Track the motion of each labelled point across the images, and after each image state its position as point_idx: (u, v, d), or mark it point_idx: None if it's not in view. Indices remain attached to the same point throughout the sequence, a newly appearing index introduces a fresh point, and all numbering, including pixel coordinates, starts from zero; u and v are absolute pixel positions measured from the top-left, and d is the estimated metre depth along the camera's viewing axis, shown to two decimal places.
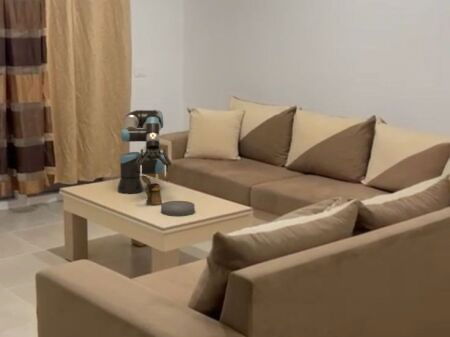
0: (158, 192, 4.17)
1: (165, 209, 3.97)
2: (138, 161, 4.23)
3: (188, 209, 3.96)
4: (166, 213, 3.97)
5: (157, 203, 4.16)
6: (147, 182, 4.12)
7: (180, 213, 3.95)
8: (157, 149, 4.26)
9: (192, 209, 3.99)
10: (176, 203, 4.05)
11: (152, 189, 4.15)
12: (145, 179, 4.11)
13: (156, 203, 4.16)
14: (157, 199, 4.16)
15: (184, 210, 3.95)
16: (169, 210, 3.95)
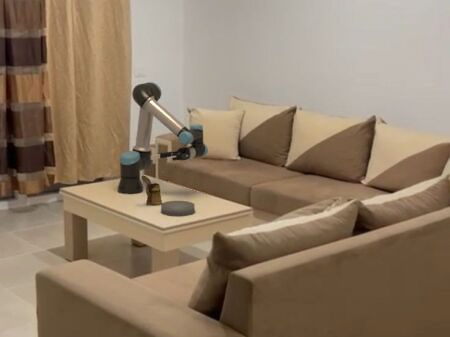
0: (158, 192, 4.17)
1: (165, 209, 3.97)
2: None
3: (188, 209, 3.96)
4: (166, 213, 3.97)
5: (157, 203, 4.16)
6: (147, 182, 4.12)
7: (180, 213, 3.95)
8: None
9: (192, 209, 3.99)
10: (176, 203, 4.05)
11: (152, 189, 4.15)
12: (145, 179, 4.11)
13: (156, 203, 4.16)
14: (157, 199, 4.16)
15: (184, 210, 3.95)
16: (169, 210, 3.95)
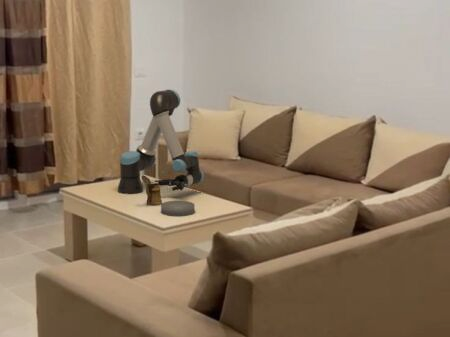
0: (158, 192, 4.17)
1: (165, 209, 3.97)
2: None
3: (188, 209, 3.96)
4: (166, 213, 3.97)
5: (157, 203, 4.16)
6: (147, 182, 4.12)
7: (180, 213, 3.95)
8: None
9: (192, 209, 3.99)
10: (176, 203, 4.05)
11: (152, 189, 4.15)
12: (145, 179, 4.11)
13: (156, 203, 4.16)
14: (157, 199, 4.16)
15: (184, 210, 3.95)
16: (169, 210, 3.95)
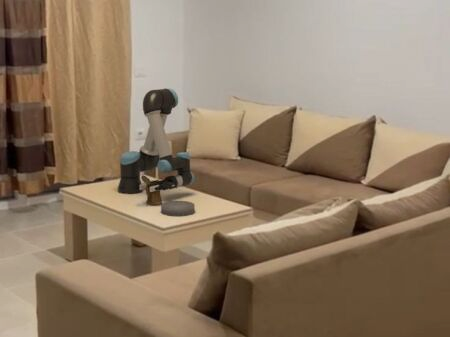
0: (158, 192, 4.17)
1: (165, 209, 3.97)
2: None
3: (188, 209, 3.96)
4: (166, 213, 3.97)
5: (157, 203, 4.16)
6: (147, 182, 4.12)
7: (180, 213, 3.95)
8: None
9: (192, 209, 3.99)
10: (176, 203, 4.05)
11: None
12: (145, 179, 4.11)
13: (156, 203, 4.16)
14: (157, 199, 4.16)
15: (184, 210, 3.95)
16: (169, 210, 3.95)
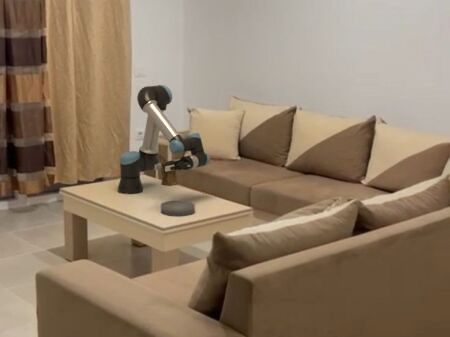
0: (173, 172, 4.06)
1: (165, 209, 3.97)
2: (180, 167, 4.06)
3: (188, 209, 3.96)
4: (166, 213, 3.97)
5: (172, 183, 4.05)
6: (162, 161, 4.01)
7: (180, 213, 3.95)
8: None
9: (192, 209, 3.99)
10: (176, 203, 4.05)
11: None
12: (160, 158, 4.00)
13: (171, 183, 4.05)
14: (172, 179, 4.06)
15: (184, 210, 3.95)
16: (169, 210, 3.95)
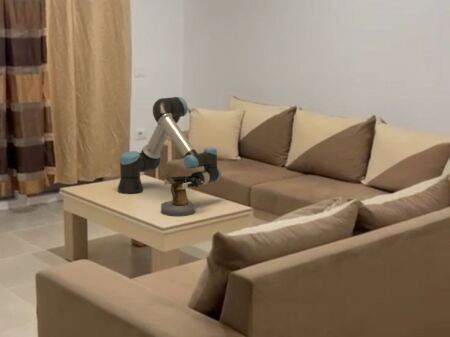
0: (183, 191, 4.01)
1: (165, 209, 3.97)
2: None
3: (188, 209, 3.96)
4: (166, 213, 3.97)
5: (183, 202, 4.01)
6: (171, 181, 3.96)
7: (180, 213, 3.95)
8: None
9: (192, 209, 3.99)
10: None
11: (177, 188, 3.99)
12: (169, 179, 3.95)
13: (182, 202, 4.00)
14: (183, 198, 4.01)
15: (184, 210, 3.95)
16: (169, 210, 3.95)
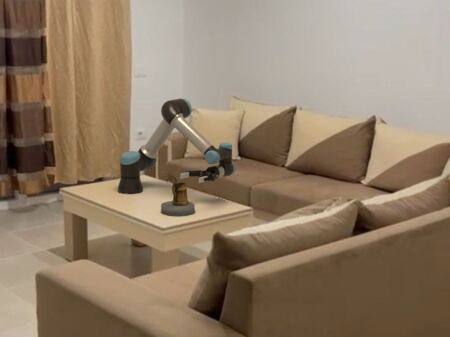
0: (184, 192, 4.01)
1: (165, 209, 3.97)
2: None
3: (188, 209, 3.96)
4: (166, 213, 3.97)
5: (183, 203, 4.01)
6: (173, 181, 3.97)
7: (180, 213, 3.95)
8: None
9: (192, 209, 3.99)
10: None
11: (178, 188, 4.00)
12: (171, 178, 3.96)
13: (182, 203, 4.00)
14: (183, 199, 4.01)
15: (184, 210, 3.95)
16: (169, 210, 3.95)
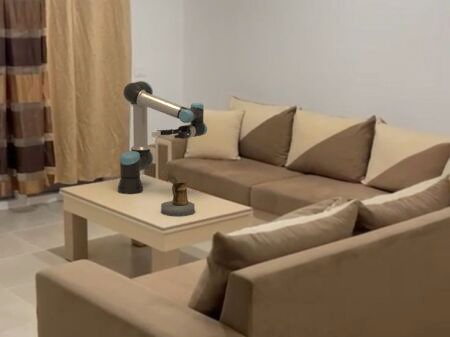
0: (184, 192, 4.01)
1: (165, 209, 3.97)
2: None
3: (188, 209, 3.96)
4: (166, 213, 3.97)
5: (183, 203, 4.01)
6: (173, 181, 3.97)
7: (180, 213, 3.95)
8: None
9: (192, 209, 3.99)
10: None
11: (178, 188, 4.00)
12: (171, 178, 3.96)
13: (182, 203, 4.00)
14: (183, 199, 4.01)
15: (184, 210, 3.95)
16: (169, 210, 3.95)
